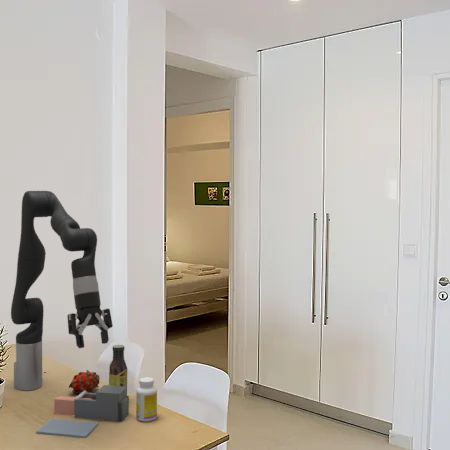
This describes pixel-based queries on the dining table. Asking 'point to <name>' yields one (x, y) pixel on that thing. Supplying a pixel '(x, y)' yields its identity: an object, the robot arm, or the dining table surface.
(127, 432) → the dining table surface
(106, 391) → the dispenser
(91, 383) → the dragon fruit
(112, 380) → the sauce bottle
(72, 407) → the pink rectangular block
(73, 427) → the rubber mat
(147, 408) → the supplement bottle
